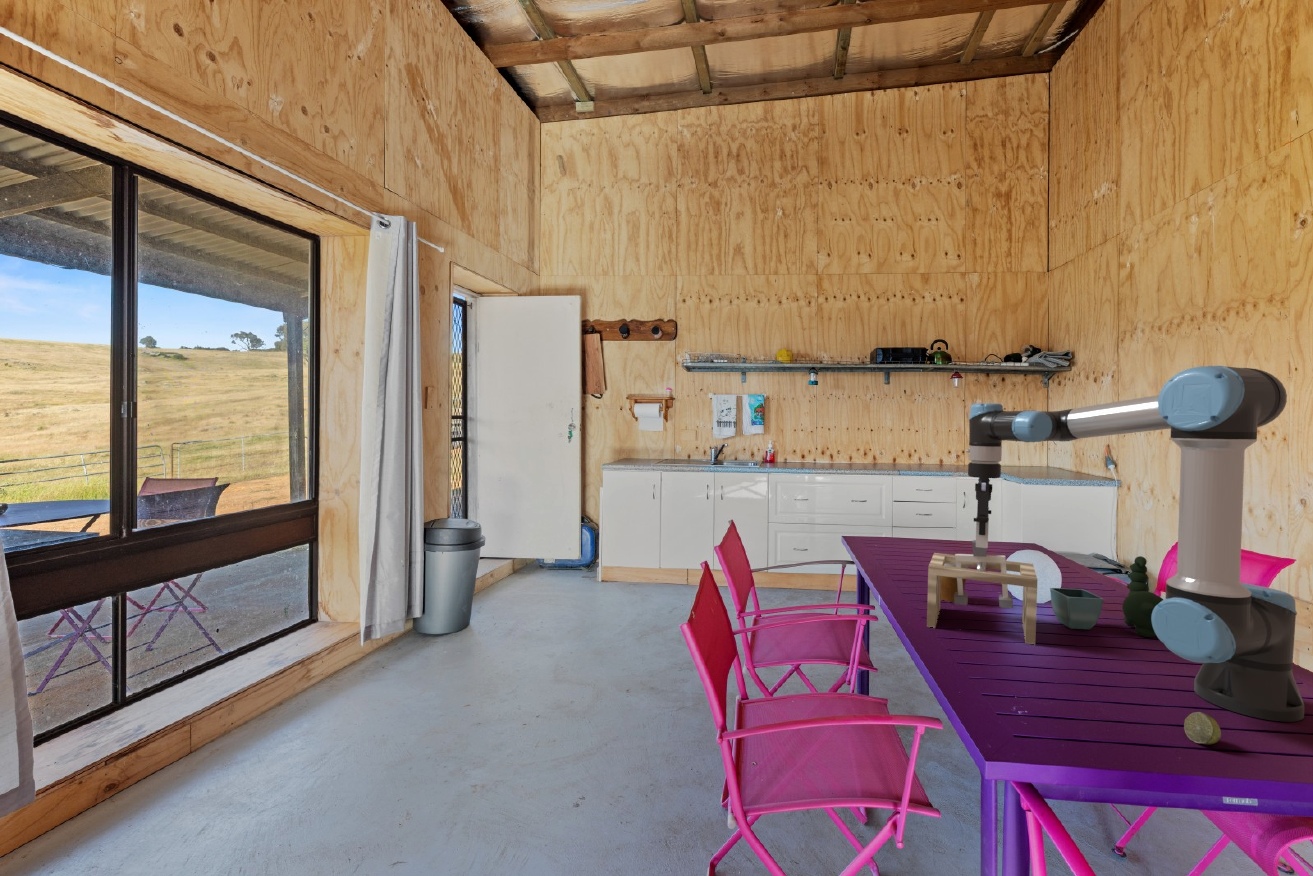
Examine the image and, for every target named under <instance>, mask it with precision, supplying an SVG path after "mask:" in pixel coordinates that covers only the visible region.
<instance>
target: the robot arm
mask: <svg viewBox="0 0 1313 876" xmlns="http://www.w3.org/2000/svg"><path fill="white" fill-rule="evenodd" d="M1286 390H1287V389H1286V387H1285V386H1284V384H1283V383H1282V382H1281V380H1280V379H1278V378H1277V377H1276V376H1275V375H1273V374H1271V373H1269V372H1267V371H1265V370H1261V369H1258V368H1251V367H1236V366H1235V367H1233V366H1224V365H1223V366H1222V365H1206V366H1195V367H1191V368H1186V369H1183V370H1182V371H1180V372H1177V374H1175V375H1174V376H1172V377H1171V378H1170V379H1169V380H1167V382H1165V384H1164V385H1163V386H1162V388H1161V390H1160V392H1159V394H1156V395H1151V396H1146V397H1145V396H1144V397H1138V398H1132V399H1126V400H1120V401H1114V402H1113V401H1112V402H1108V403H1107V402H1106V403H1102V404H1096V405H1094V404H1093V405H1090V406H1082V407H1075V408H1070V409H1069V408H1068V409H1061V410H1055V411H1053V410H1049V411H1046V410H1043V411H1042V410H1040V411H1038V410H1010V411H1009V410H1007V411H1006V410H1004V407H1003V404H1001V403H993V402H991V403H974V404H972V405H971V407H970V410H969V418H968V423H969V426H968V427H969V428H968V429H969V430H968V431H969V433H968V434H969V435H968V436H969V438H968V439H969V440H968V448H967V449H965V452H966V453H969V454H968V460H969V461H971V462H969V463H968V465H967V475H968V477H970V478H978V480H977V481H978V482H976V483H975V485H974V488H975V489H974V491H975V500H976V501H977V513H976V517H973V522H976V525H975V540H976V547H980V548H986V549H988V547H989V525H990V524H989V519H990V517H989V515H992V510H990V509H989V508H990V507H989V506H990V505H989V501H991V500H992V493H993V483H992V484H991V483H990V481H991V479H999V478H1001V474H1002V472H1001V471H1002V464H1001V463H1000V462H1001V461H1002V448H1003V446H1002V443H1003V441H1011V442H1024V443H1040V442H1071V441H1075V440H1079V439H1088V438H1094V437H1095V438H1097V437H1106V436H1115V435H1123V434H1124V435H1125V434H1133V433H1144V432H1151V431H1152V432H1154V431H1161V430H1170V440H1171V441H1172V442H1173V443H1174V444H1176V445H1177V447H1179V449H1180V463H1179V465H1180V469H1179V495H1178V496H1179V497H1178V498H1179V499H1178V501H1179V502H1178V524H1177V525H1178V530H1177V559H1176V562H1177V563H1176V566H1177V567H1176V573H1175V574H1174V575H1173V576H1171V577H1169V578H1168V579H1166V583H1165V598H1164V600H1162V601H1161V602H1160V603H1159V604H1158V605H1156V606H1155V608H1154V609H1153V612H1152V616H1151V621H1152V626H1153V629H1154V631H1155V633H1156V637H1157V638H1158V640H1159V641H1160V642H1161V643H1162V644H1163V645H1164V646H1165V647H1166V649H1168V651H1170V652H1172V653H1173V654H1175V655H1176V656H1178V657H1180V658H1182V659H1184V660H1187V661H1189V662H1193V663H1199V664H1202V665H1201V666H1200V667H1199V671H1198V672H1197V674H1195V675H1196V676H1195V677H1194V684H1193V685H1194V688H1193V691H1194V693H1195V694H1196V695H1198V696H1199V697H1200V698H1201V699H1202V700H1204V701H1207V702H1209V703H1210V704H1213V705H1215V706H1217V707H1220V708H1222V709H1225V710H1228V711H1231V712H1234V713H1238V714H1240V715H1244V716H1248V717H1252V718H1257V719H1262V720H1268V721H1274V722H1284V723H1286V722H1292V723H1293V722H1299V721H1302V720H1303V719H1304V718H1305V704H1304V700H1303V698H1302V697H1303V696H1301V695H1302V694H1301V692H1300V690H1299V686H1298V685H1297V682H1296V680H1295V676H1294V674H1293V665H1294V664H1293V663H1294V651H1295V650H1294V647H1295V634H1296V633H1295V632H1296V631H1295V630H1296V617H1297V615H1298V611H1297V610H1296V600H1295V598H1294V596H1293V595H1291V594H1290V593H1288V592H1286V591H1282V590H1279V589H1276V588H1275V589H1274V588H1269V587H1266V586H1261V585H1257V584H1256V585H1255V584H1250V583H1245V582H1241V562H1242V561H1241V559H1242V558H1241V557H1242V536H1243V534H1242V533H1243V531H1242V530H1243V503H1244V502H1243V501H1244V482H1245V481H1244V479H1245V477H1244V476H1245V475H1244V473H1245V451H1246V449H1248V447H1250V446H1252V445H1253V444H1255V443H1256V442H1257V441H1258V428H1260V427H1263V426H1267V425H1268V424H1269V423H1272V422H1273V421H1274V420H1276V419H1277V418H1278V417H1279V416H1280V415H1281V414H1282V413H1283V411H1284V409H1285V407H1286V404H1287V402H1288V401H1287V397H1288V395H1287V391H1286Z"/></svg>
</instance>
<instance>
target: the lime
mask: <svg viewBox="0 0 1313 876" xmlns="http://www.w3.org/2000/svg"><path fill="white" fill-rule="evenodd" d="M1183 730H1184V732H1185V734H1186V736H1187V738H1188V739H1189V740H1190V741H1191V742H1194V744H1195V743H1196V744H1200V745H1213V744H1216V743H1218V742H1219V741H1220V739H1221V737H1222V730H1221V728H1220V725H1219V723H1218V722H1217V721H1216V720H1215V718H1213V717H1212V716H1210V715H1209V714H1207V713H1206V712H1202V711H1196V712H1191V713H1190V714H1189V715H1187V717H1185V719H1184V724H1183Z"/></svg>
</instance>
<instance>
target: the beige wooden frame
mask: <svg viewBox="0 0 1313 876" xmlns="http://www.w3.org/2000/svg"><path fill="white" fill-rule="evenodd" d="M945 563H946V564H955V565H956V559H955V554H949V553H939V552H937V553H936V552H934V553H933V555H932V557H931V560H930V562H929V564H928V569H927V601H926V602H927V605H926V606H927V607H926V610H927V611H926V627H927V628H930V627H933V628H932V629H936V627H937V623H938V620H937V619H939V616H938V615H940V612H939V611H941V604H942V603H941V601H942V600H941V576H946V577H954V578H962V579H966V580H972V581H978V582H988V583H996V584H1001V585H1002V584H1007V585H1011V586H1018V587H1022V590H1023V591H1022V611H1021V612H1022V614H1021V616H1022V617H1021V618H1022V619H1021V623H1023V624H1022V630H1023V635H1024V636H1025V637H1024V636H1023V637H1024V643H1025V644H1026V643H1027V644H1026V645H1030V644H1034V645H1033V646H1036V632H1037V609H1038V608H1037V605H1038V602H1037V601H1038V581H1039V579H1038V577H1037V574H1036V573H1037V572H1036V569H1035V566H1034V564H1033V563H1029V562H1020V561H1011V560H1010V561H1009V560H1006V573H1001V572H998V570H999V571H1001V564H1000V563H994V562H967V561H961V565H963V566H969V567H973V568H976V569H973V568H968V569H966V568H958V567H949V566H944V564H945ZM986 569H992V570H997V571H990V570H986ZM1007 572H1014V573H1015V572H1016V573H1020V574H1014V573H1007Z"/></svg>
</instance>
